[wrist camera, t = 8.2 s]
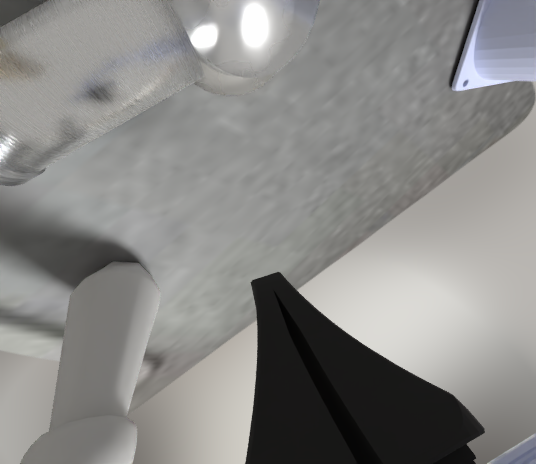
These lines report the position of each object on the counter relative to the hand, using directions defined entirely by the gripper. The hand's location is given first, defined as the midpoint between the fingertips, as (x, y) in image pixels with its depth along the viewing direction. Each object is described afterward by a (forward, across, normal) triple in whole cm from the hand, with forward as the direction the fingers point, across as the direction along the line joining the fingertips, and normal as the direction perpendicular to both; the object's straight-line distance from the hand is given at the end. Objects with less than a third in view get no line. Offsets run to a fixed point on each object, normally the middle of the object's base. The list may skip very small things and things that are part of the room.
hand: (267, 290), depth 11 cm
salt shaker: (+10, +10, +5) cm, 15 cm away
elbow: (+8, +2, -10) cm, 12 cm away
